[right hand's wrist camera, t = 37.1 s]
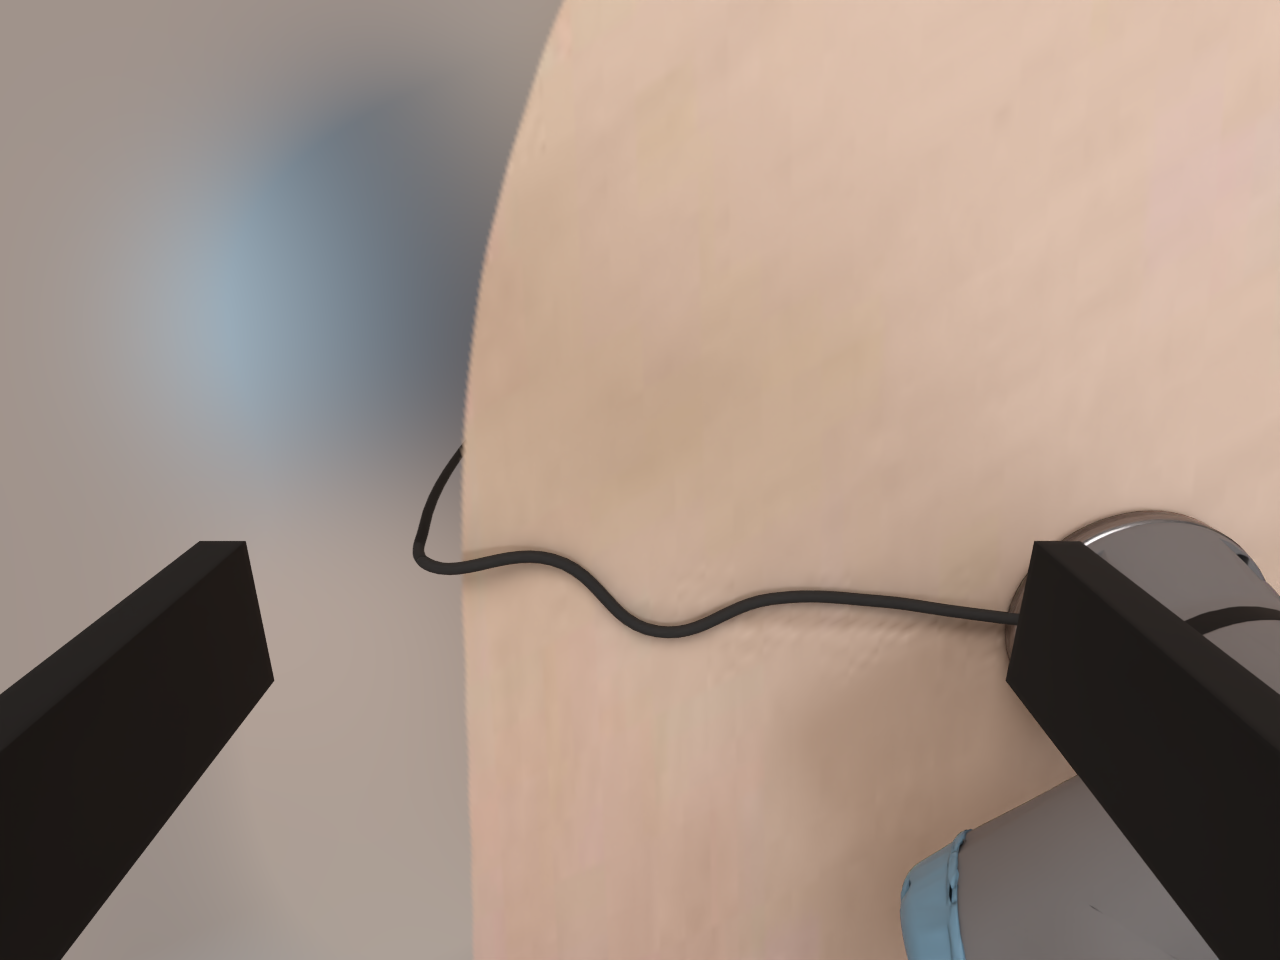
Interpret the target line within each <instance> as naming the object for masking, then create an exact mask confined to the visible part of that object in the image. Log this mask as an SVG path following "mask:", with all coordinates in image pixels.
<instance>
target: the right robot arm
mask: <svg viewBox="0 0 1280 960" xmlns="http://www.w3.org/2000/svg"><path fill="white" fill-rule="evenodd" d="M463 443H464V442H463ZM463 443H462V445H461V446H460V447H459V448H458V450H457V451H456V453H455V454H454V455H453V456H452V458H451V459H450V461H449V462H448V464H447V465H446V467H445V468H444V469H443V471H442V473H441V474H440V476H439V478H438V479H437V481H436V483H435V484H434V486H433V488H432V490H431V492H430V494H429V496H428V499H427V501H426V504H425V506H424V509H423V512H422V515H421V519H420V523H419V527H418V530H417V534H416V537H415V540H414V543H413V558H414V560H415V561H416V563H417V564H418V565H419V566H420V567H421V568H423V569H424V570H427V571H429V572H432V573H436V574H444V575H457V574H465V573H471V572H476V571H481V570H485V569H489V568H494V567H498V566H503V565H509V564H517V563H541V564H546V565H551V566H554V567H556V568H559V569H562V570H564V571H566V572H567V573H569V574H571V575H573V576H574V577H575V578H577V579H578V580H579V581H581V582H582V583H583V584H584V585H585V586H586V587H587V588H588V589H589V590H590V591H591V592H592V593H593V594H594V595H595V596H596V597H597V598H598V600H599V601H600V602H601V603H602V604H603V605H604V606H605V607H606V608H607V609H608V610H609V611H610V612H611V613H612V614H613V615H614V616H615V617H616V618H617V619H618V620H620V621H621V622H622V623H623V624H625V625H626V626H628V627H630V628H631V629H633V630H635V631H637V632H640V633H642V634H645V635H649V636H654V637H661V638H679V637H685V636H690V635H693V634H697V633H700V632H702V631H705V630H707V629H709V628H712V627H714V626H716V625H718V624H720V623H722V622H724V621H726V620H728V619H730V618H732V617H735V616H737V615H739V614H741V613H744V612H747V611H749V610H752V609H755V608H759V607H763V606H769V605H775V604H785V603H801V602H819V603H837V604H849V605H860V606H871V607H883V608H893V609H901V610H909V611H915V612H921V613H928V614H934V615H941V616H947V617H955V618H962V619H970V620H977V621H985V622H993V623H1001V624H1006V647H1007V652H1008V656H1009V659H1010V662H1009V667H1008V672H1007V677H1006V682H1007V683H1008V684H1009V686H1010V687H1011V688H1012V689H1013V691H1014V692H1015V693H1016V695H1017V696H1018V697H1019V699H1020V700H1021V701H1022V703H1023V704H1024V705H1025V706H1026V708H1027V709H1028V710H1029V712H1030V713H1031V714H1032V716H1033V717H1034V718H1035V720H1036V721H1037V722H1038V723H1039V725H1040V726H1041V727H1042V729H1043V730H1044V731H1045V733H1046V734H1047V735H1048V737H1049V738H1050V739H1051V740H1052V742H1053V743H1054V744H1055V746H1056V747H1057V748H1058V750H1059V751H1060V752H1061V754H1062V755H1063V756H1064V757H1065V759H1066V760H1067V761H1068V763H1069V764H1070V765H1071V767H1072V768H1073V769H1074V771H1075V772H1076V773H1077V774H1078V775H1076V776H1074V777H1072V778H1071V779H1069V780H1067V781H1065V782H1063V783H1061V784H1059V785H1058V786H1056V787H1054V788H1052V789H1050V790H1048V791H1047V792H1045V793H1043V794H1041V795H1039V796H1037V797H1035V798H1034V799H1032V800H1030V801H1028V802H1026V803H1024V804H1022V805H1020V806H1018V807H1016V808H1014V809H1012V810H1010V811H1008V812H1006V813H1005V814H1003V815H1001V816H999V817H997V818H995V819H993V820H991V821H989V822H987V823H985V824H983V825H981V826H979V827H977V828H975V829H969V830H965V831H962V832H960V833H959V834H958V835H957V837H956V838H955V839H954V841H953V842H952V843H950V844H948V845H947V846H945V847H944V848H942V849H941V850H939V851H937V852H936V853H934V854H932V855H931V856H929V857H927V858H926V859H924V860H922V861H921V862H919V863H918V864H917V865H915V866H914V867H913V868H912V869H911V870H910V872H909V873H908V874H907V876H906V878H905V880H904V883H903V887H902V891H901V908H900V918H901V927H902V934H903V939H904V944H905V949H906V953H907V957H908V960H1280V596H1279V595H1278V594H1277V592H1276V591H1275V590H1274V589H1273V588H1272V587H1271V586H1270V585H1269V584H1268V583H1267V582H1266V581H1265V579H1264V577H1263V575H1262V573H1261V571H1260V569H1259V568H1258V567H1257V565H1256V564H1255V562H1254V561H1253V560H1252V559H1251V558H1250V556H1249V555H1248V554H1247V553H1246V552H1245V551H1244V550H1243V549H1242V548H1241V547H1240V546H1239V545H1238V544H1237V543H1236V542H1234V541H1233V540H1232V539H1230V538H1229V537H1227V536H1225V535H1224V534H1222V533H1221V532H1219V531H1217V530H1215V529H1213V528H1212V527H1210V526H1208V525H1206V524H1205V523H1203V522H1201V521H1198V520H1196V519H1194V518H1191V517H1188V516H1185V515H1181V514H1177V513H1172V512H1164V511H1137V512H1131V513H1124V514H1120V515H1116V516H1112V517H1108V518H1105V519H1102V520H1099V521H1097V522H1095V523H1092V524H1090V525H1087V526H1085V527H1083V528H1081V529H1079V530H1077V531H1076V532H1074V533H1072V534H1071V535H1069V536H1067V537H1066V538H1064V539H1063V540H1062V541H1034V545H1033V550H1032V555H1031V560H1030V565H1029V570H1028V574H1027V575H1026V577H1025V578H1024V579H1023V581H1022V583H1021V584H1020V586H1019V588H1018V590H1017V592H1016V594H1015V596H1014V598H1013V600H1012V603H1011V606H1010V609H1009V612H1001V611H993V610H985V609H978V608H970V607H962V606H955V605H947V604H941V603H934V602H928V601H921V600H915V599H908V598H901V597H892V596H881V595H869V594H858V593H847V592H834V591H787V592H777V593H769V594H763V595H758V596H755V597H751V598H748V599H745V600H742V601H740V602H737V603H735V604H733V605H730V606H728V607H726V608H724V609H722V610H720V611H718V612H716V613H714V614H712V615H710V616H708V617H705V618H703V619H701V620H698V621H696V622H693V623H690V624H686V625H681V626H670V627H667V626H657V625H653V624H649V623H646V622H644V621H641V620H639V619H637V618H636V617H634V616H632V615H631V614H630V613H628V612H627V611H626V610H625V609H624V608H623V607H622V606H621V605H619V604H618V603H617V602H616V600H615V599H614V598H613V597H612V596H611V595H610V594H609V593H608V592H607V590H606V589H605V588H604V587H603V586H602V585H601V584H600V583H599V582H598V581H597V580H596V579H595V578H594V577H593V576H592V575H591V574H590V573H589V572H588V571H586V570H585V569H583V568H582V567H581V566H579V565H578V564H576V563H574V562H572V561H571V560H569V559H567V558H564V557H561V556H559V555H556V554H552V553H547V552H542V551H515V552H507V553H502V554H497V555H492V556H487V557H483V558H479V559H474V560H469V561H464V562H457V563H442V562H438V561H434V560H432V559H430V558H429V557H427V556H426V555H425V552H424V548H425V543H426V540H427V537H428V533H429V529H430V524H431V520H432V516H433V513H434V510H435V507H436V504H437V501H438V499H439V497H440V495H441V493H442V491H443V488H444V486H445V485H446V483H447V481H448V479H449V477H450V476H451V474H452V472H453V471H454V469H455V468H456V466H457V465H458V463H459V462H460V460H461V459H462V457H463V451H464V445H463ZM273 682H274V677H273V672H272V667H271V662H270V658H269V653H268V648H267V643H266V638H265V633H264V628H263V623H262V618H261V614H260V609H259V604H258V599H257V594H256V589H255V584H254V580H253V575H252V570H251V565H250V560H249V555H248V550H247V545H246V541H199V542H198V543H197V544H195V545H194V546H193V547H191V548H190V549H189V550H187V551H186V552H185V553H184V554H182V555H181V556H180V557H178V558H177V559H176V560H175V561H173V562H172V563H171V564H169V565H168V566H167V567H165V568H164V569H163V570H162V571H160V572H159V573H158V574H156V575H155V576H154V577H152V578H151V579H150V580H148V581H147V582H146V583H145V584H143V585H142V586H141V587H139V588H138V589H137V590H135V591H134V592H133V593H132V594H130V595H129V596H128V597H126V598H125V599H124V600H122V601H121V602H120V603H119V604H117V605H116V606H115V607H113V608H112V609H111V610H109V611H108V612H107V613H106V614H104V615H103V616H102V617H100V618H99V619H98V620H97V621H95V622H94V623H93V624H91V625H90V626H89V627H87V628H86V629H85V630H83V631H82V632H81V633H80V634H78V635H77V636H76V637H74V638H73V639H72V640H70V641H69V642H68V643H67V644H65V645H64V646H63V647H61V648H60V649H59V650H58V651H56V652H55V653H54V654H52V655H51V656H50V657H48V658H47V659H46V660H44V661H43V662H42V663H41V664H39V665H38V666H37V667H35V668H34V669H33V670H31V671H30V672H29V673H28V674H26V675H25V676H24V677H22V678H21V679H20V680H18V681H17V682H16V683H15V684H13V685H12V686H11V687H9V688H8V689H7V690H6V691H4V692H3V693H2V694H0V960H61V959H62V958H63V956H64V955H65V953H66V952H67V951H68V950H69V948H70V947H71V946H72V944H73V943H74V942H75V941H76V939H77V938H78V937H79V935H80V934H81V933H82V931H83V930H84V929H85V927H86V926H87V925H88V923H89V922H90V921H91V920H92V918H93V917H94V916H95V914H96V913H97V912H98V910H99V909H100V908H101V907H102V905H103V904H104V903H105V901H106V900H107V899H108V897H109V896H110V895H111V893H112V892H113V891H114V890H115V888H116V887H117V886H118V884H119V883H120V882H121V880H122V879H123V878H124V876H125V875H126V874H127V873H128V871H129V870H130V869H131V867H132V866H133V865H134V863H135V862H136V861H137V859H138V858H139V857H140V856H141V854H142V853H143V852H144V850H145V849H146V848H147V846H148V845H149V844H150V842H151V841H152V840H153V839H154V837H155V836H156V835H157V833H158V832H159V831H160V829H161V828H162V827H163V825H164V824H165V823H166V822H167V820H168V819H169V818H170V816H171V815H172V814H173V812H174V811H175V810H176V808H177V807H178V806H179V804H180V803H181V802H182V801H183V799H184V798H185V797H186V795H187V794H188V793H189V791H190V790H191V789H192V787H193V786H194V785H195V784H196V782H197V781H198V780H199V778H200V777H201V776H202V774H203V773H204V772H205V770H206V769H207V768H208V767H209V765H210V764H211V763H212V761H213V760H214V759H215V757H216V756H217V755H218V754H219V752H220V751H221V750H222V748H223V747H224V746H225V744H226V743H227V742H228V740H229V739H230V738H231V736H232V735H233V734H234V733H235V731H236V730H237V729H238V727H239V726H240V725H241V723H242V722H243V721H244V720H245V718H246V717H247V716H248V714H249V713H250V712H251V710H252V709H253V708H254V706H255V705H256V704H257V703H258V701H259V700H260V699H261V697H262V696H263V695H264V693H265V692H266V691H267V689H268V688H269V687H270V686H271V684H272V683H273Z"/></svg>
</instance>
